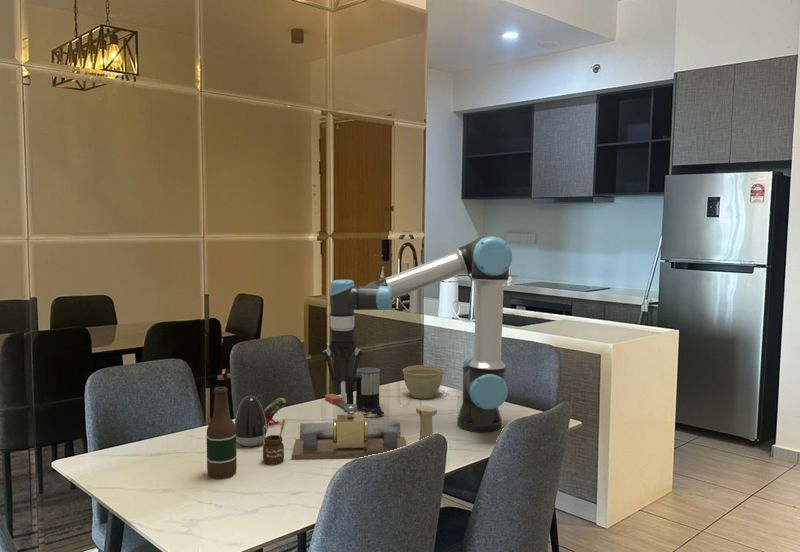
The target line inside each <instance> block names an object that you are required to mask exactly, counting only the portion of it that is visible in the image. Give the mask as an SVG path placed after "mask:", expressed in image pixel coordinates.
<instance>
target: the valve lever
mask: <svg viewBox="0 0 800 552" xmlns="http://www.w3.org/2000/svg"><path fill="white" fill-rule="evenodd" d="M324 401H325V402H326V403H329V404H330V405H332V406H336V407H337V408H339V409H341V410H343V412H344V413H346V414H347V413H357V412H358V410H357V405H356V403H355V404H348V403H347V401H346V402H344V401H342V398H341V396H340V395H338V394H335V393H329V394H325V395H324Z"/></svg>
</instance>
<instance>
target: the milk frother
mask: <svg viewBox="0 0 800 552" xmlns="http://www.w3.org/2000/svg"><path fill="white" fill-rule="evenodd" d="M380 371H381V369H380V368H377V367H370V366H369V367H359V368H358V367H357V371H356V375H355V379H354V380H352V381H350V382H349V392H345V399H346V403H348V404H354V399H355V405H357V411H359V412H370V413H373V414H374V415H376V416H379V417H380V416H381V415H384V414H385V412H384V410H382V408H381V406H380V378H381V377H380V373H381V372H380ZM355 382H356V383H355ZM354 383H355V385H356V387H355V388H356V389H355V398H354Z"/></svg>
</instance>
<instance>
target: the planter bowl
mask: <svg viewBox="0 0 800 552" xmlns="http://www.w3.org/2000/svg"><path fill="white" fill-rule="evenodd" d="M402 373H403V380H404V383H405V386H406V388H407V390H408V391H409V393H410V397H412V398H414V399H420V400H429V399H433V398H434V397H435V396H436V393H437V392H438V390H439V389H440V388H441V384H442V381H443V373H444V369H443V368H441V367H438V366H432V365H411V366H407V367H405V368H403V369H402Z"/></svg>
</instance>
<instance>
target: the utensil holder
mask: <svg viewBox="0 0 800 552" xmlns="http://www.w3.org/2000/svg"><path fill="white" fill-rule="evenodd" d="M285 421H286V419H284V418H283V419H282V423H281V426H280V432H279V434H266V435H265V438H264V440H263V443H264V444H263V447H262V461H263V463H264V464H265V463H266V465H269V464H275V465H279V464H282V463H283V462H284V460H285V446H284V443H283V437H282V432H283V430H284V427H285ZM264 426H265V425H264ZM264 426H263V427H264ZM265 427H267V428H268V427H269V426H265ZM268 430H269V433H272V430H271V426H270V427H269V428H268V429H267V431H266V432H267V433H268ZM263 431H265V430H263ZM281 462H282V463H281Z"/></svg>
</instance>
